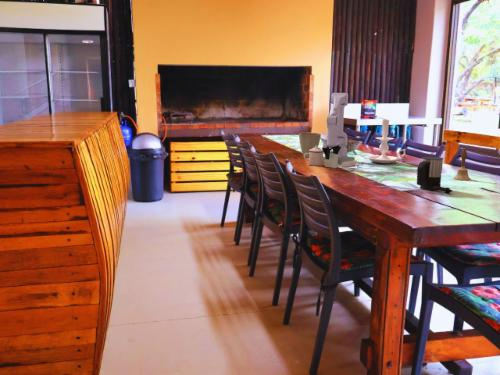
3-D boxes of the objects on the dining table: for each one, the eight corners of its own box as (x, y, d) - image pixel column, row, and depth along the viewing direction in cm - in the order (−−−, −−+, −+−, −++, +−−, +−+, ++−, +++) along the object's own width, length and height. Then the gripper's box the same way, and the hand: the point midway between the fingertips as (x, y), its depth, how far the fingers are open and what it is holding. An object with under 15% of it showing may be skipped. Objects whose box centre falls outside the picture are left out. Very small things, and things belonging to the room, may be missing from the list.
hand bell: (460, 181, 233) (464, 150, 229) (449, 178, 240) (452, 148, 237) (474, 180, 235) (477, 149, 232) (463, 177, 243) (466, 147, 239)
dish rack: (339, 162, 292) (340, 155, 291) (356, 164, 283) (356, 157, 282) (326, 164, 282) (326, 157, 282) (342, 167, 274) (343, 159, 273)
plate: (326, 166, 278) (327, 153, 276) (337, 167, 272) (337, 154, 270) (324, 166, 276) (324, 153, 275) (335, 168, 271) (335, 154, 269)
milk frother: (423, 186, 221) (426, 155, 218) (458, 190, 211) (461, 158, 208) (413, 190, 210) (415, 158, 207) (448, 195, 200) (451, 162, 197)
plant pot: (296, 158, 310) (296, 134, 307) (300, 155, 324) (301, 132, 321) (318, 159, 306) (319, 135, 302) (321, 156, 320) (322, 133, 316)
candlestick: (411, 165, 282) (415, 119, 276) (372, 165, 281) (375, 119, 275) (399, 160, 302) (402, 117, 296) (362, 160, 301) (364, 117, 295)
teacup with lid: (322, 163, 286) (323, 145, 284) (323, 166, 277) (324, 146, 275) (303, 163, 287) (304, 144, 285) (303, 165, 278) (304, 146, 276)
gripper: (330, 137, 263) (329, 160, 265) (345, 135, 272) (343, 158, 275) (320, 136, 268) (319, 159, 270) (335, 134, 277) (334, 157, 280)
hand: (331, 158), depth 273 cm, fingers open, 7 cm apart
